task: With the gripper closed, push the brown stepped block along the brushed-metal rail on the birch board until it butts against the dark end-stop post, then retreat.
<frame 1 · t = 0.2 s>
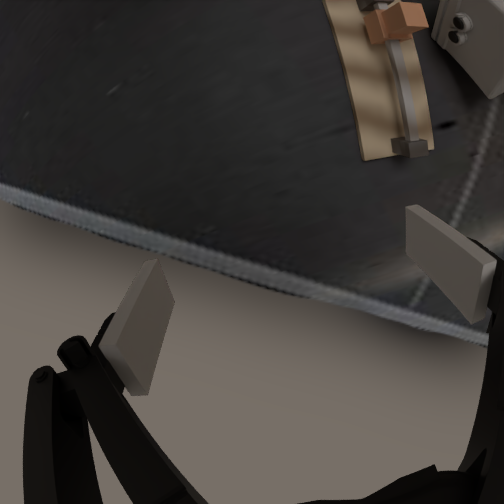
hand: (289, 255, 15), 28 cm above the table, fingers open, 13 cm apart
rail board: (383, 73, 35), on the table
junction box: (472, 29, 30), on the table
brown stepped block: (396, 22, 26), point 8 cm above the table, slide at -6.0 cm
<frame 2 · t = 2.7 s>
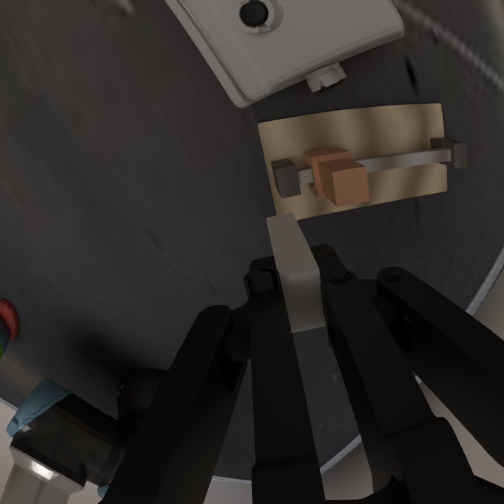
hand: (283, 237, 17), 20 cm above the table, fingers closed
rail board: (363, 156, 35), on the table
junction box: (263, 2, 27), on the table
red rounded piece: (1, 316, 44), on the table
brown stepped block: (335, 175, 28), point 8 cm above the table, slide at -6.0 cm
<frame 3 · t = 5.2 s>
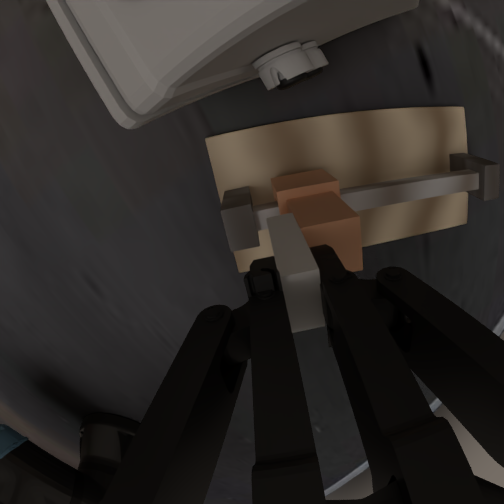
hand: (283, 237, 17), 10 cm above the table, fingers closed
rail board: (358, 179, 26), on the table
brown stepped block: (314, 219, 19), point 7 cm above the table, slide at -5.8 cm, touching gripper
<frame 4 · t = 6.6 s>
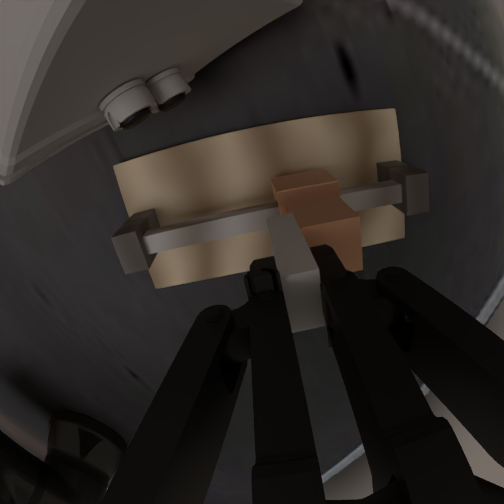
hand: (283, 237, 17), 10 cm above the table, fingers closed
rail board: (268, 195, 26), on the table
brown stepped block: (314, 219, 19), point 7 cm above the table, slide at 2.3 cm, touching gripper
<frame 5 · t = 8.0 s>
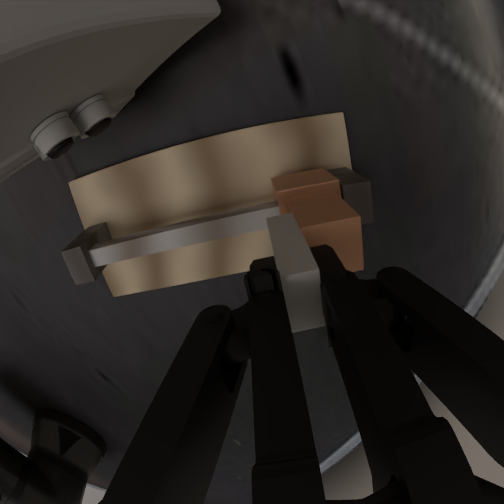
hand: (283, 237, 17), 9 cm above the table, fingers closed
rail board: (213, 207, 26), on the table
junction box: (78, 20, 18), on the table
brown stepped block: (314, 219, 19), point 7 cm above the table, slide at 7.2 cm, touching gripper
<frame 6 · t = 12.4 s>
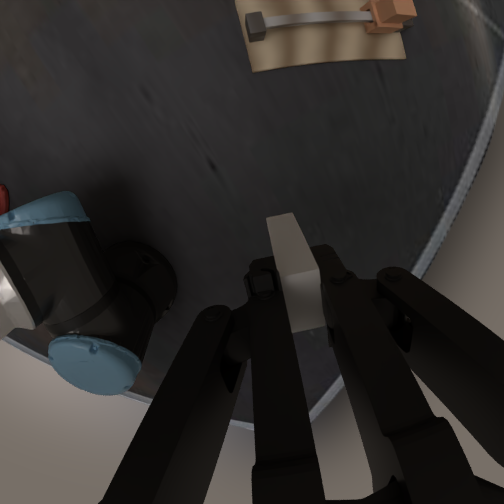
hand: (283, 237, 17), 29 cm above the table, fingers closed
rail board: (324, 26, 35), on the table
brown stepped block: (388, 13, 28), point 7 cm above the table, slide at 7.2 cm
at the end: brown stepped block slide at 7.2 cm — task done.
